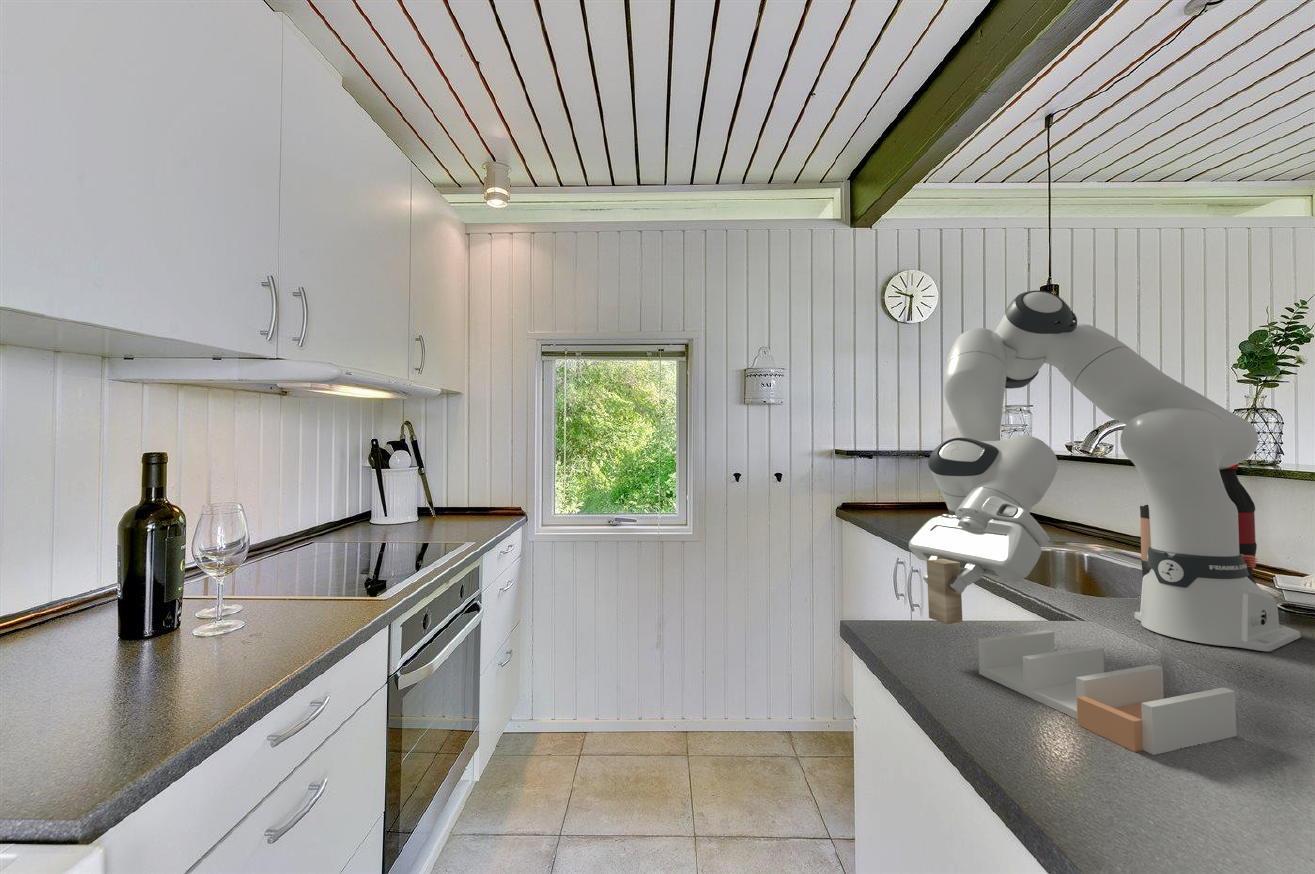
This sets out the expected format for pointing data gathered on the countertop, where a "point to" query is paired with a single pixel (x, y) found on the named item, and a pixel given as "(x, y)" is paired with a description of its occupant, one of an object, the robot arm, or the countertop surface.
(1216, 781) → the countertop surface
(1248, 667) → the countertop surface
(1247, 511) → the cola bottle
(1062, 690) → the rack
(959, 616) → the block
